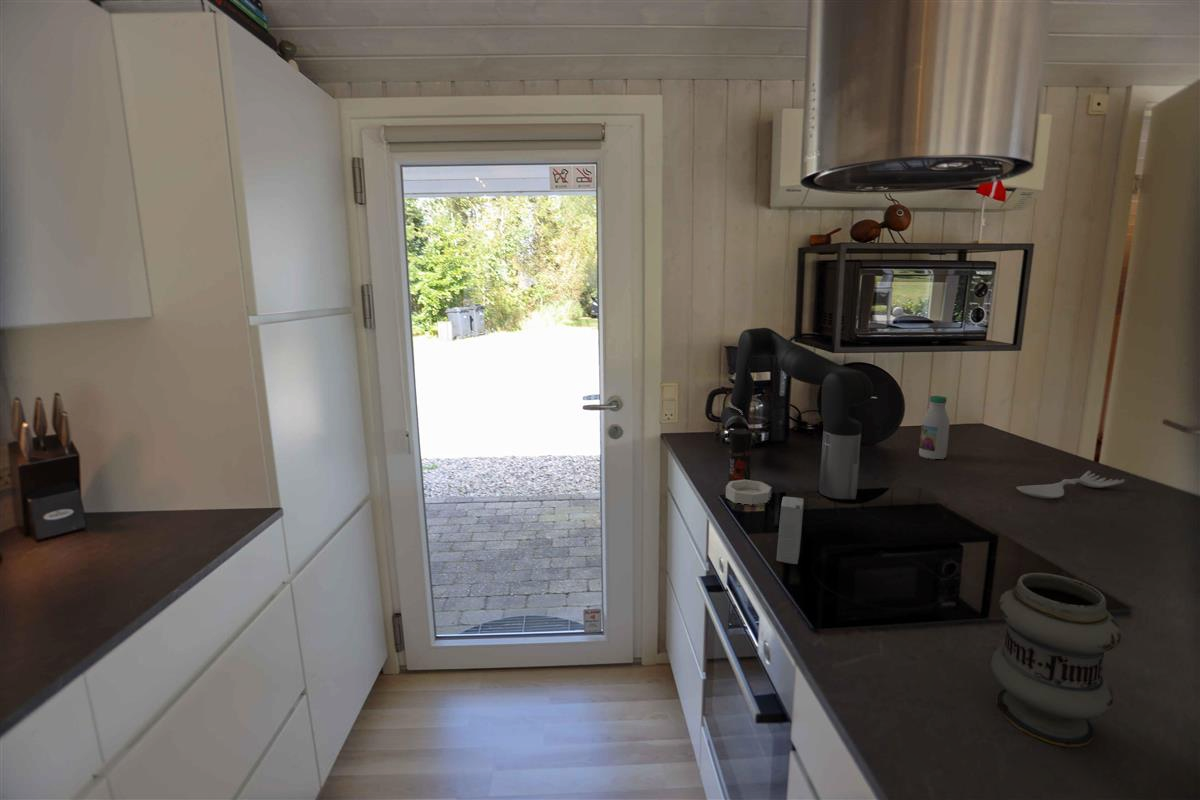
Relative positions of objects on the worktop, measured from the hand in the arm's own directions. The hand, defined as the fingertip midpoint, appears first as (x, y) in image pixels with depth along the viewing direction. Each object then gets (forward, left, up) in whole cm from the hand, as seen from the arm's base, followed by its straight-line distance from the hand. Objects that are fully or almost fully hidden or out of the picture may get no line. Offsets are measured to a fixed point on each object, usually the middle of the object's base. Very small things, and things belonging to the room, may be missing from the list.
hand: (738, 441), depth 171 cm
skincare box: (-23, +53, -9) cm, 58 cm away
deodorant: (-3, +11, -9) cm, 15 cm away
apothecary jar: (-59, +85, -9) cm, 104 cm away
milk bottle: (-54, -41, -9) cm, 69 cm away
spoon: (-84, -19, -10) cm, 87 cm away
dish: (-8, +22, -9) cm, 25 cm away
